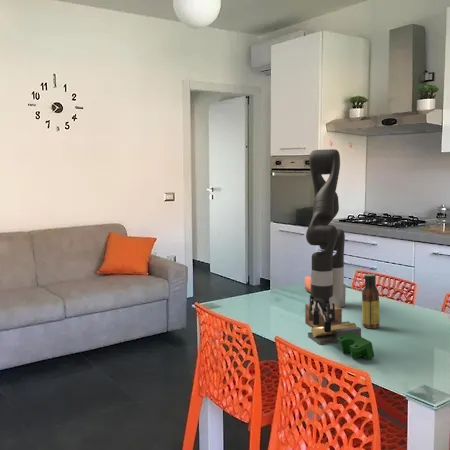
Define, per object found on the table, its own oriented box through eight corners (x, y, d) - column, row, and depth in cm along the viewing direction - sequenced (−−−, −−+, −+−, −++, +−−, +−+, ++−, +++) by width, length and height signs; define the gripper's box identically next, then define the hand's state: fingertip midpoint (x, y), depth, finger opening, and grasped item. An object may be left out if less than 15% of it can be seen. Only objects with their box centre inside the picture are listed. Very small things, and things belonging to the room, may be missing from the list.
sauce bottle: (380, 325, 197) (381, 273, 194) (379, 330, 191) (380, 276, 189) (362, 323, 199) (362, 272, 197) (360, 328, 193) (361, 275, 191)
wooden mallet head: (328, 320, 203) (328, 301, 202) (341, 328, 194) (341, 308, 193) (305, 323, 200) (305, 304, 199) (317, 331, 191) (317, 311, 190)
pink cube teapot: (317, 288, 256) (317, 271, 255) (327, 294, 245) (327, 276, 244) (302, 289, 255) (302, 272, 254) (311, 295, 243) (311, 278, 242)
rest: (347, 331, 189) (348, 321, 189) (361, 339, 181) (361, 328, 180) (307, 336, 185) (307, 325, 184) (319, 345, 176) (319, 333, 176)
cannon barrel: (351, 329, 186) (352, 321, 186) (356, 333, 183) (356, 324, 183) (311, 334, 182) (311, 326, 181) (315, 338, 179) (315, 329, 178)
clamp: (344, 365, 170) (333, 338, 172) (359, 358, 172) (348, 332, 173) (361, 363, 159) (349, 335, 160) (377, 356, 161) (365, 328, 162)
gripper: (342, 286, 173) (341, 333, 175) (321, 277, 187) (321, 321, 189) (321, 288, 171) (321, 335, 173) (302, 279, 185) (302, 323, 187)
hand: (321, 328), depth 181 cm, fingers open, 8 cm apart
